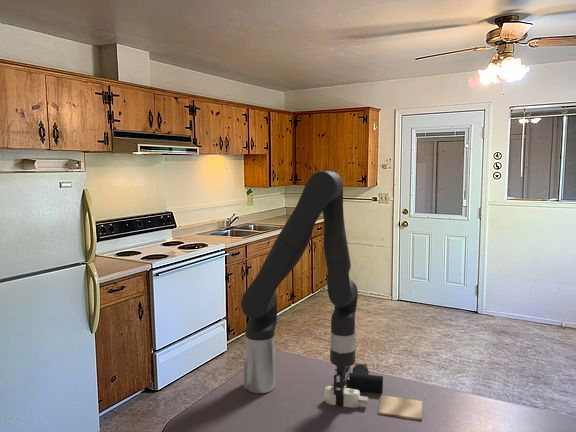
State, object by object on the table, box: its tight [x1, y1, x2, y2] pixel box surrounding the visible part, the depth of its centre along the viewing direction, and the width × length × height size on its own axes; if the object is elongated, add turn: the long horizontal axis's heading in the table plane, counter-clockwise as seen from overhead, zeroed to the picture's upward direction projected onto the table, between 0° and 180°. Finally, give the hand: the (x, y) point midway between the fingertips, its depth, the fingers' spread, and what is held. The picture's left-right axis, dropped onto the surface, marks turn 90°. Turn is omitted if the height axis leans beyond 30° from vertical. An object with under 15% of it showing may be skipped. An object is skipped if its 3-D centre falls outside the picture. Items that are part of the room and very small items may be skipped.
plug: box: [324, 385, 369, 409], centre depth 134 cm, size 13×4×4 cm, turn 73°
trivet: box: [377, 395, 423, 422], centre depth 131 cm, size 12×10×1 cm
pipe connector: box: [348, 362, 384, 394], centre depth 146 cm, size 12×5×15 cm
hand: (342, 399), depth 135 cm, fingers open, 7 cm apart
